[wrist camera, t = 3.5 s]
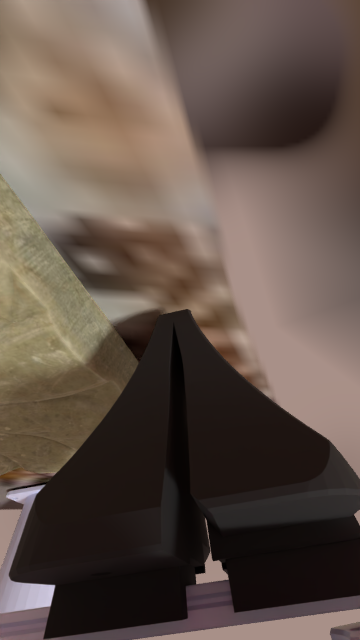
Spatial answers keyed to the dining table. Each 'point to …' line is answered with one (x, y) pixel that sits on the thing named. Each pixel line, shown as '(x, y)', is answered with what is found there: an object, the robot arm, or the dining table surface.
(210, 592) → the robot arm
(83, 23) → the dining table surface
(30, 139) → the dining table surface
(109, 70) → the dining table surface
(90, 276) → the dining table surface
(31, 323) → the decorative tile
